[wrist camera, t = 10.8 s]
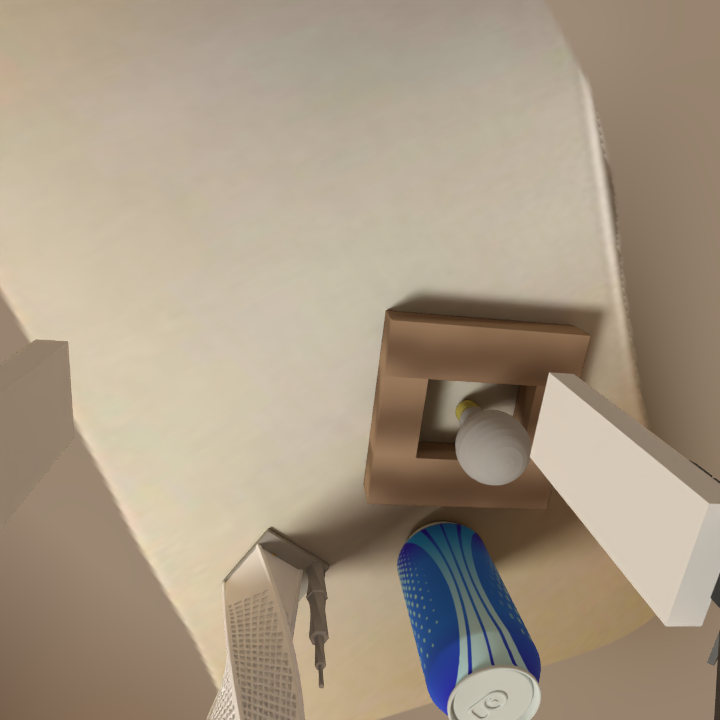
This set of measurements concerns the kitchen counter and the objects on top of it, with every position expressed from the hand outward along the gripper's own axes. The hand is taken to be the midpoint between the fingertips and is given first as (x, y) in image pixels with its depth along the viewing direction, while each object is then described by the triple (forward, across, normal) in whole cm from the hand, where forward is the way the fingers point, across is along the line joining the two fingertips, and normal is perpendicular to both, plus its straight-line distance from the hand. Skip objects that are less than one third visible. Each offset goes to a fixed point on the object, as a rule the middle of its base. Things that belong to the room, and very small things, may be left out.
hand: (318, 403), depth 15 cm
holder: (+29, +15, -12) cm, 34 cm away
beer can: (+29, +15, -27) cm, 42 cm away
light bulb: (+29, +15, -12) cm, 35 cm away
